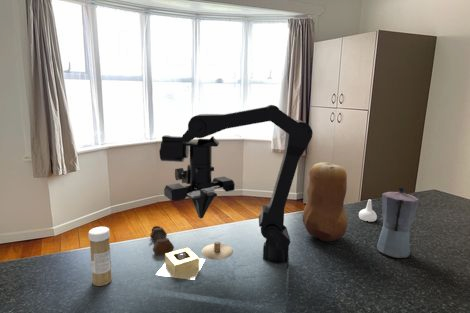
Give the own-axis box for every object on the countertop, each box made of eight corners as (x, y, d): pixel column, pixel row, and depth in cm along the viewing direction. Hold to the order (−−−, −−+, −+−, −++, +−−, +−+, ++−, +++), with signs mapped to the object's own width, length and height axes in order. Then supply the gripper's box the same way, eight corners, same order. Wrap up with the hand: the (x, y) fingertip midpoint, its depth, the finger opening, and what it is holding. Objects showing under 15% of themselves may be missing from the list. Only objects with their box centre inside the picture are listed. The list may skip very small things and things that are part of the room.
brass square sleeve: (199, 268, 80) (199, 257, 79) (175, 276, 76) (175, 265, 76) (188, 257, 85) (187, 247, 85) (165, 264, 82) (164, 253, 81)
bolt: (159, 240, 101) (167, 261, 87) (145, 235, 99) (150, 256, 85) (167, 224, 101) (176, 243, 88) (153, 219, 99) (160, 237, 86)
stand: (235, 248, 93) (235, 237, 92) (229, 264, 84) (229, 252, 83) (206, 245, 94) (206, 234, 94) (197, 260, 86) (197, 248, 85)
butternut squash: (344, 232, 105) (351, 160, 101) (346, 251, 93) (354, 170, 88) (302, 227, 109) (307, 157, 104) (299, 244, 96) (305, 166, 92)
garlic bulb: (359, 222, 116) (362, 203, 113) (357, 215, 122) (359, 196, 119) (377, 224, 114) (380, 204, 112) (374, 216, 120) (376, 197, 118)
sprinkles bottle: (94, 277, 77) (90, 226, 74) (113, 275, 78) (110, 225, 75) (90, 288, 73) (86, 235, 70) (111, 285, 74) (108, 233, 71)
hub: (205, 262, 85) (205, 247, 84) (194, 283, 75) (194, 266, 74) (171, 258, 87) (171, 243, 86) (155, 278, 77) (155, 261, 76)
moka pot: (409, 245, 97) (418, 184, 93) (414, 269, 84) (424, 198, 80) (376, 238, 101) (383, 179, 97) (375, 260, 88) (383, 193, 84)
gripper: (215, 154, 93) (215, 203, 96) (155, 160, 83) (157, 215, 86) (236, 160, 84) (235, 214, 87) (172, 168, 74) (173, 229, 77)
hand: (200, 217), depth 85 cm, fingers closed
